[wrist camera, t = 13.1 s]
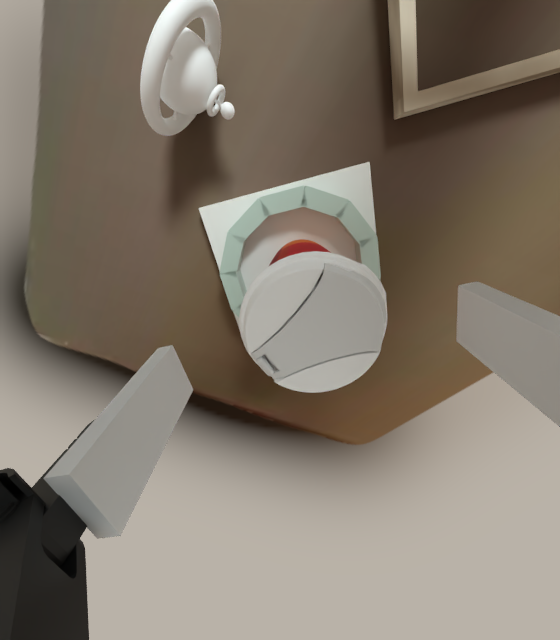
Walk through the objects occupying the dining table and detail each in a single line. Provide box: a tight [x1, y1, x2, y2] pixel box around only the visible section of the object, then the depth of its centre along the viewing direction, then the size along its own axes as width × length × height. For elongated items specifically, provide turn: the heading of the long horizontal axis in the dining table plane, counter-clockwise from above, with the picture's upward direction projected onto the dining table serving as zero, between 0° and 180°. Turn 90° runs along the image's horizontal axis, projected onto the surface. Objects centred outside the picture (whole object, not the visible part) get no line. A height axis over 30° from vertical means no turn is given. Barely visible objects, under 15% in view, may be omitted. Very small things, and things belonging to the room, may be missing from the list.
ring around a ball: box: [140, 0, 235, 136], centre depth 18 cm, size 8×6×8 cm
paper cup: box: [239, 239, 387, 393], centre depth 19 cm, size 8×8×14 cm
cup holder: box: [199, 162, 381, 351], centre depth 25 cm, size 15×15×3 cm
